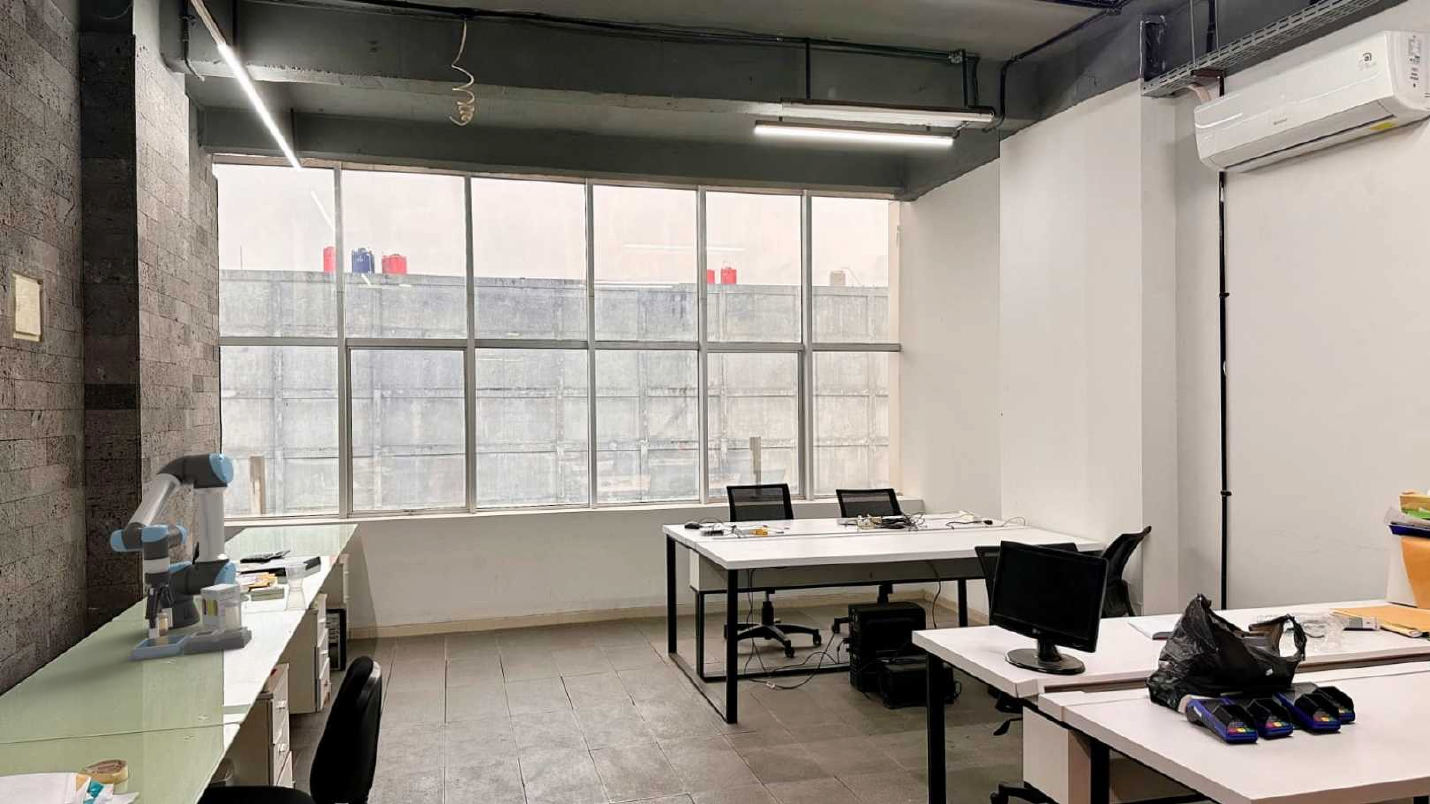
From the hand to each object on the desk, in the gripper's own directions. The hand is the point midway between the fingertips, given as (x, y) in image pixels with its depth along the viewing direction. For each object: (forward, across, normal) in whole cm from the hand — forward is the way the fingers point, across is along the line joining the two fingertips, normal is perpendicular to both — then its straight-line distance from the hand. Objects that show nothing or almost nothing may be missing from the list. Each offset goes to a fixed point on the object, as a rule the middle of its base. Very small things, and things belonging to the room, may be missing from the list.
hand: (161, 632), depth 299 cm
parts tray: (+7, 0, 0) cm, 7 cm away
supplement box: (+7, -19, +14) cm, 25 cm away
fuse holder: (+7, +2, +18) cm, 19 cm away
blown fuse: (+6, 0, 0) cm, 6 cm away
